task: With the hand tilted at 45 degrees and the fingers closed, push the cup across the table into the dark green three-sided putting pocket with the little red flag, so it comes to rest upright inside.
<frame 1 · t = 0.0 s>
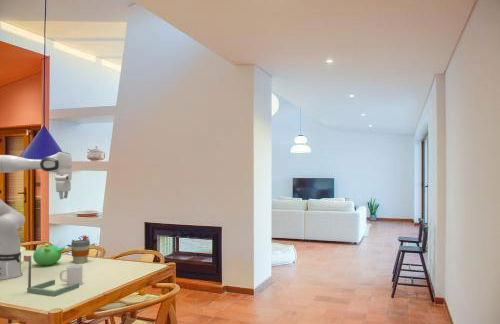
hand: (63, 198, 257), 48 cm above the table, tool pointing down, fingers open, 8 cm apart
green teapot: (47, 265, 281), on the table
cup: (71, 284, 235), on the table
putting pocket: (54, 289, 223), on the table
reusable coffee cup: (80, 262, 290), on the table
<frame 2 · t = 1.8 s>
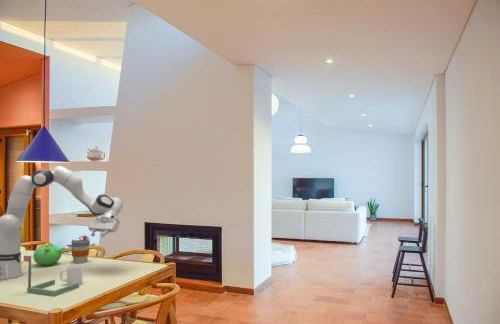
hand: (97, 236, 255), 25 cm above the table, tool tilted 45°, fingers open, 6 cm apart
nothing on the table moved.
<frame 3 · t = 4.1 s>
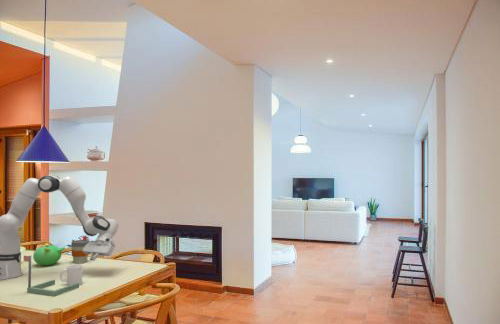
hand: (91, 260, 251), 10 cm above the table, tool tilted 45°, fingers closed
nothing on the table moved.
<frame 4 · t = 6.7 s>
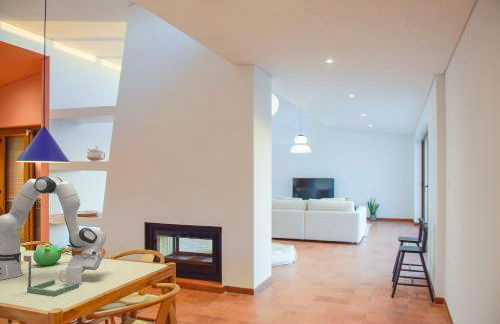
hand: (77, 274, 239), 4 cm above the table, tool tilted 45°, fingers closed
cup: (70, 284, 234), on the table, touching gripper
everything else where it was.
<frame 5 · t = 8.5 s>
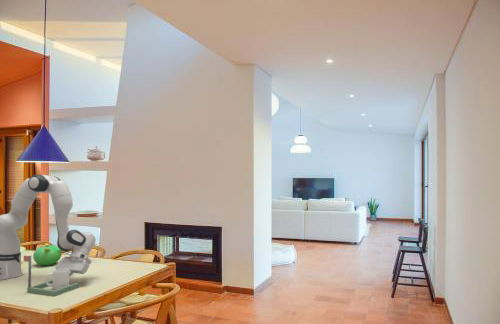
hand: (64, 278, 230), 4 cm above the table, tool tilted 45°, fingers closed, pressing on cup
cup: (57, 289, 225), on the table, touching gripper
everything else where it was.
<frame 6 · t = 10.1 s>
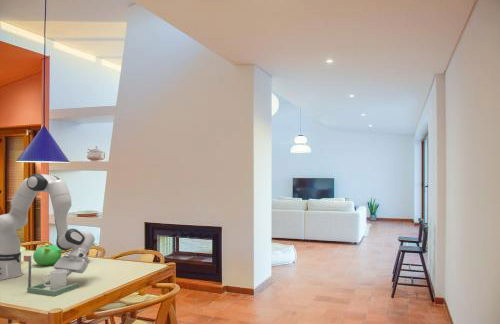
hand: (63, 277, 229), 5 cm above the table, tool tilted 45°, fingers closed
cup: (54, 290, 223), on the table
everything else where it was.
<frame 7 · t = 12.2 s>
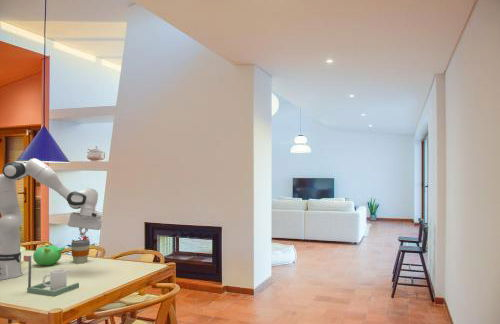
hand: (82, 235, 254), 25 cm above the table, tool tilted 15°, fingers closed
nothing on the table moved.
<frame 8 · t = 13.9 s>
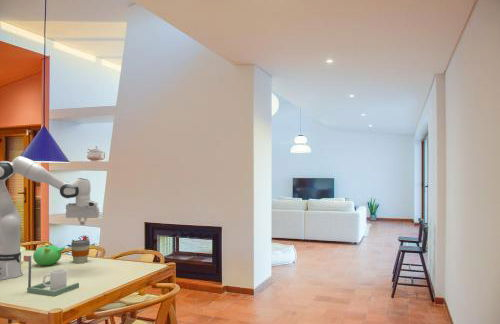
hand: (82, 224, 261), 31 cm above the table, tool pointing down, fingers closed
nothing on the table moved.
at the end: cup 0.1 cm from the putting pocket (horizontally); cup tilted 0° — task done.
